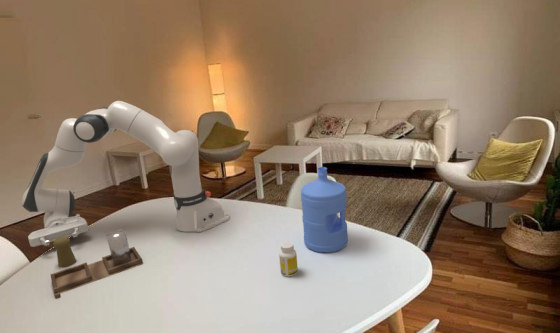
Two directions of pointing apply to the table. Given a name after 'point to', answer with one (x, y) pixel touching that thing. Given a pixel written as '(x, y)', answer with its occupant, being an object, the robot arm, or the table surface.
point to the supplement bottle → (288, 259)
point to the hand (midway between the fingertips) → (61, 239)
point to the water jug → (324, 214)
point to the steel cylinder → (119, 247)
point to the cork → (64, 252)
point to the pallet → (90, 272)
